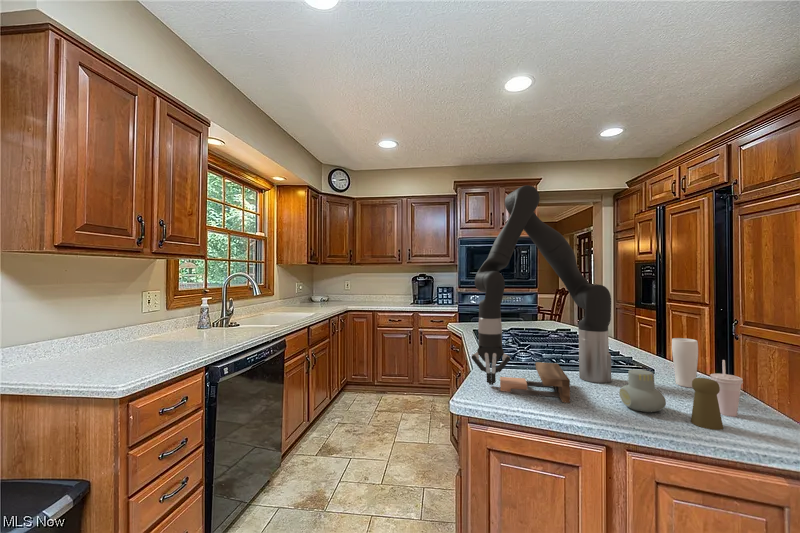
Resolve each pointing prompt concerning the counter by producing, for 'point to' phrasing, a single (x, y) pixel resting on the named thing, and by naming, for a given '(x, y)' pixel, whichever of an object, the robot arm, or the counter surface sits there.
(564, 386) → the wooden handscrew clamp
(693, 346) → the drinking glass
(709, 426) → the cork
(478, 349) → the robot arm
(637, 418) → the counter surface
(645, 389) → the air freshener
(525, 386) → the light orange flat block
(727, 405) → the smoothie
